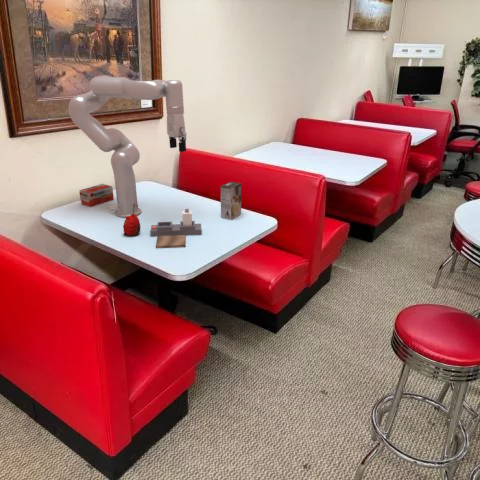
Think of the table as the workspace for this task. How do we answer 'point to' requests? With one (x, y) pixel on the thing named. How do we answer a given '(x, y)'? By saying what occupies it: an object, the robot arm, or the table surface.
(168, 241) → the walnut mat
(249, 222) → the table surface
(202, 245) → the table surface
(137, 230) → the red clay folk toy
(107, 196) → the medicine box
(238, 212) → the coffee box
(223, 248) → the table surface
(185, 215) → the plug
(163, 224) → the power strip
